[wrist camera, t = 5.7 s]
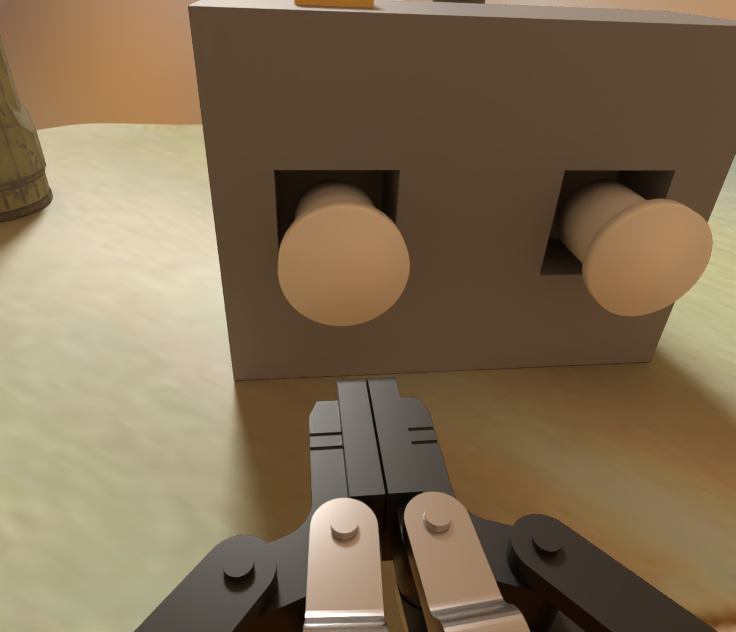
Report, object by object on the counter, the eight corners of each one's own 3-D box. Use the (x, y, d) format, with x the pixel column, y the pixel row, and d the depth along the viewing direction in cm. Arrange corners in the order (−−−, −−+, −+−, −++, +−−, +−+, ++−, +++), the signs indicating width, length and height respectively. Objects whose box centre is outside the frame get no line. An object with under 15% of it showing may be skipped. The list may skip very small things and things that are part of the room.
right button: (685, 314, 23) (732, 206, 20) (578, 318, 22) (611, 207, 20) (627, 261, 27) (659, 165, 24) (534, 263, 26) (556, 165, 24)
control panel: (650, 361, 29) (802, -10, 20) (233, 380, 27) (182, -38, 17) (583, 287, 36) (674, -18, 27) (245, 296, 33) (212, -39, 24)
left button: (404, 324, 21) (415, 208, 19) (280, 328, 21) (274, 209, 18) (386, 266, 25) (393, 164, 23) (282, 268, 25) (277, 164, 22)
